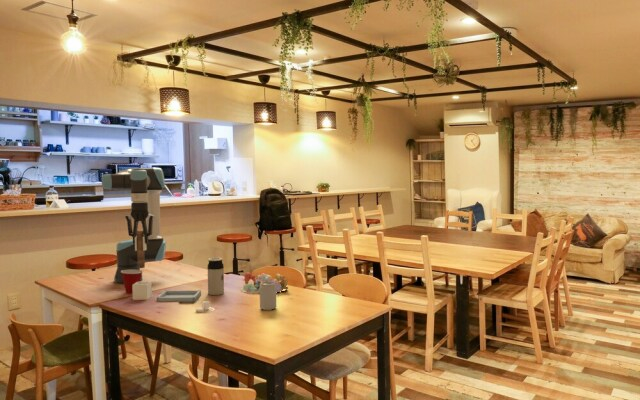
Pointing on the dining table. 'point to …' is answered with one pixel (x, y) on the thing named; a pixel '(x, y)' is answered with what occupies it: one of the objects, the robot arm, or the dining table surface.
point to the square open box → (142, 290)
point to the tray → (180, 296)
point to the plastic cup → (131, 279)
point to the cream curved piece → (205, 307)
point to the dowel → (140, 249)
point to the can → (267, 295)
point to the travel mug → (215, 276)
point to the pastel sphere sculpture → (260, 279)
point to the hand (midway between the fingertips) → (140, 250)
